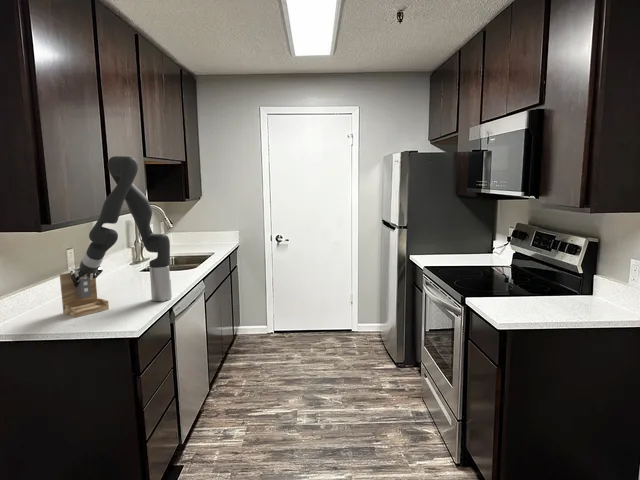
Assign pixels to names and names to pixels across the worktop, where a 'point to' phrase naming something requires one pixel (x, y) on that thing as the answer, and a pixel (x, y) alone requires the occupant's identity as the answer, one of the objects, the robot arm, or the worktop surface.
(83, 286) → the power strip
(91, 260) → the robot arm
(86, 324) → the worktop surface
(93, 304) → the wooden angled stand
